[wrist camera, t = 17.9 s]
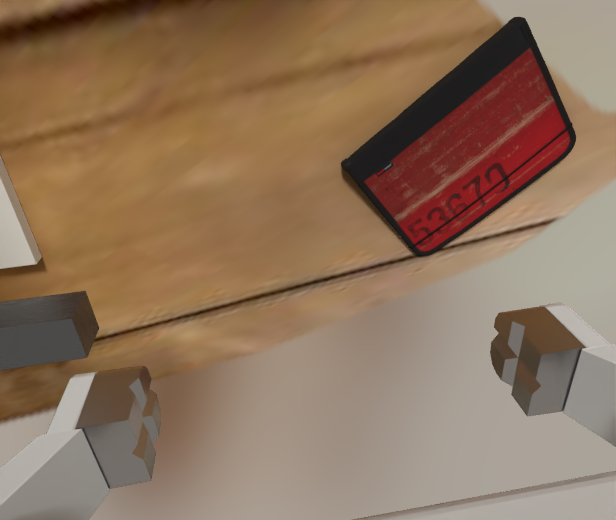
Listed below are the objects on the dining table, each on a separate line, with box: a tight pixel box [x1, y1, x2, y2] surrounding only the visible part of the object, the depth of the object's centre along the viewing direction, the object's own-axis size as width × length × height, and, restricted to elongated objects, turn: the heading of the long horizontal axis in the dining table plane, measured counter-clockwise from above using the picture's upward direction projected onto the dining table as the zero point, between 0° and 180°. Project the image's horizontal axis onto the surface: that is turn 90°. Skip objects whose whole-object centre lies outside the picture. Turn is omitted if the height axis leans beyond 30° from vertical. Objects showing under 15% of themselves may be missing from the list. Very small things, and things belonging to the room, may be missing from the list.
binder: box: [341, 17, 576, 256], centre depth 48 cm, size 16×2×21 cm
